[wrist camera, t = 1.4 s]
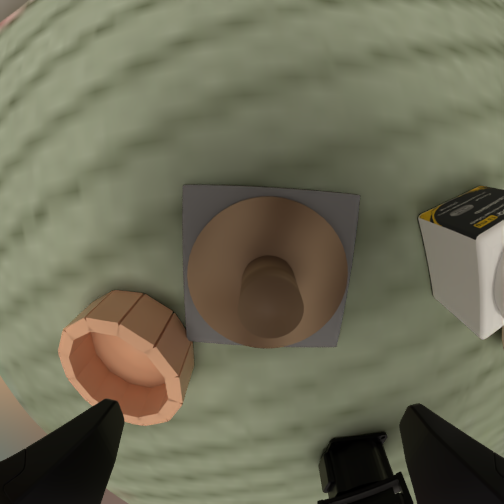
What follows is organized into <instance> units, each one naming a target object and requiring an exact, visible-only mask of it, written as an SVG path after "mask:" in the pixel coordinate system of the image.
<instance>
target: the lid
mask: <svg viewBox="0 0 504 504" xmlns="http://www.w3.org/2000/svg"><path fill="white" fill-rule="evenodd" d="M347 277H348V266H347V259H346V254H345V251H344V248H343V245H342V243H341V241H340V239H339V237H338V235H337V234H336V232H335V231H334V229H333V228H332V227H331V225H330V224H329V223H328V222H327V221H326V220H325V219H324V218H323V217H321V216H320V215H319V214H318V213H316V212H315V211H314V210H312V209H310V208H309V207H307V206H305V205H304V204H301V203H299V202H297V201H294V200H291V199H287V198H283V197H274V196H261V197H254V198H249V199H246V200H242V201H239V202H237V203H235V204H233V205H230V206H229V207H227V208H225V209H224V210H222V211H221V212H220V213H218V214H217V215H216V216H215V217H214V218H213V219H212V220H211V221H210V222H209V223H208V224H207V225H206V226H205V227H204V228H203V230H202V231H201V233H200V234H199V236H198V237H197V239H196V241H195V243H194V245H193V247H192V250H191V253H190V256H189V262H188V270H187V279H188V287H189V291H190V295H191V298H192V300H193V303H194V305H195V307H196V309H197V310H198V312H199V314H200V315H201V316H202V318H203V319H204V320H205V321H206V323H207V324H208V325H209V326H210V327H211V328H213V329H214V330H215V331H216V332H218V333H219V334H220V335H222V336H224V337H225V338H227V339H229V340H231V341H233V342H236V343H239V344H242V345H245V346H249V347H255V348H278V347H284V346H288V345H292V344H295V343H297V342H300V341H302V340H304V339H306V338H308V337H310V336H311V335H313V334H314V333H316V332H317V331H319V330H320V329H321V328H322V327H323V326H324V325H325V324H326V323H327V322H328V321H329V320H330V319H331V318H332V316H333V315H334V313H335V312H336V311H337V309H338V307H339V305H340V303H341V301H342V299H343V296H344V293H345V289H346V285H347Z"/></svg>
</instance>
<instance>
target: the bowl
mask: <svg viewBox="0 0 504 504" xmlns="http://www.w3.org/2000/svg"><path fill="white" fill-rule="evenodd" d="M172 312H173V311H172V310H170V309H169V308H167V307H165V306H164V305H162V304H161V303H159V302H157V301H156V300H154V299H153V298H151V297H150V296H148V295H146V294H145V295H144V296H143V293H138V292H129V291H119V290H114V291H111V292H109V293H107V294H106V295H104V296H102V297H100V298H99V299H97V300H95V301H93V302H92V303H91V304H90V305H89V306H88V307H87V308H86V309H84V310H83V311H82V312H81V313H80V314H79V315H78V316H77V317H76V318H75V319H74V320H73V321H71V322H70V323H69V324H68V325H67V326H66V327H65V328H64V329H63V332H62V336H61V340H60V345H59V349H58V352H59V353H58V354H59V357H60V360H61V363H62V366H63V368H64V371H65V374H66V377H67V378H68V380H69V381H70V382H71V384H72V385H73V386H74V387H75V388H76V390H77V391H78V392H79V393H80V394H81V395H82V397H83V398H84V399H85V400H86V401H89V403H90V404H91V405H93V406H94V405H95V404H97V403H99V402H100V401H102V400H103V399H105V398H108V399H113V400H116V401H118V403H119V405H120V408H121V410H122V413H123V416H124V422H128V423H132V424H137V425H141V426H143V425H144V426H147V425H152V424H158V423H163V422H167V421H168V420H170V419H171V418H172V417H173V416H174V414H175V413H176V412H177V411H178V409H179V408H180V407H181V406H182V404H183V401H184V397H185V394H186V391H187V388H188V384H189V381H190V378H191V374H192V371H193V368H194V351H193V341H189V340H188V338H187V334H186V329H185V327H184V326H183V324H182V323H181V321H180V320H179V318H178V317H177V315H176V314H175V313H173V314H172Z"/></svg>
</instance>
